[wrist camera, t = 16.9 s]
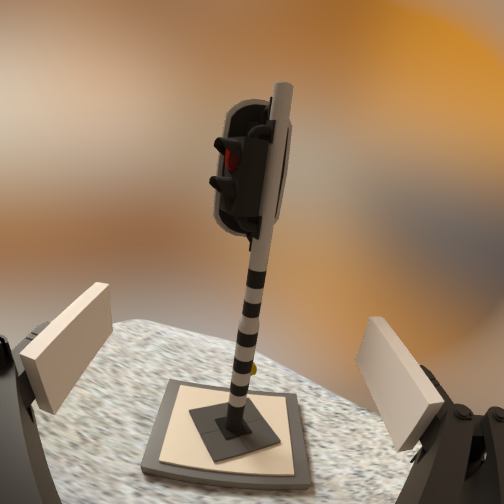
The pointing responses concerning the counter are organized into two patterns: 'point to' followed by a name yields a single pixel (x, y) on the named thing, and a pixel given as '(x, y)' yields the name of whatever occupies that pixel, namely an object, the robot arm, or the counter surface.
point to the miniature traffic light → (259, 235)
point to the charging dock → (234, 469)
